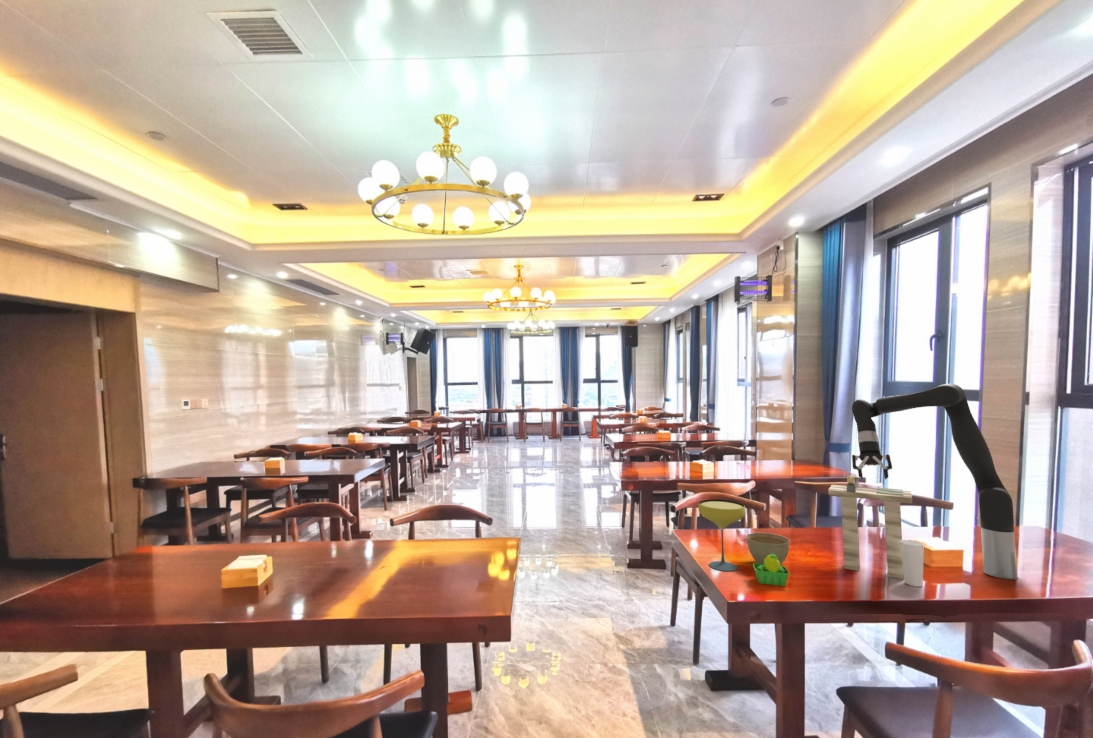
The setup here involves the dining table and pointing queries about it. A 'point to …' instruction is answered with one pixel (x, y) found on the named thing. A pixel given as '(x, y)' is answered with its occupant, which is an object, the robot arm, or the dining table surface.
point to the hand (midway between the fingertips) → (873, 478)
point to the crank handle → (852, 483)
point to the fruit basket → (771, 571)
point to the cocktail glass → (722, 522)
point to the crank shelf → (891, 524)
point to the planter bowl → (767, 546)
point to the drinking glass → (912, 562)
